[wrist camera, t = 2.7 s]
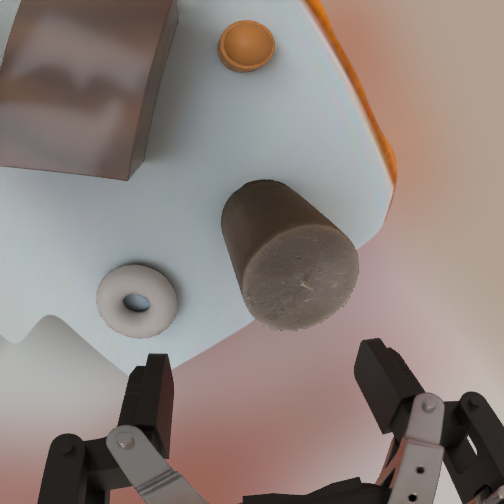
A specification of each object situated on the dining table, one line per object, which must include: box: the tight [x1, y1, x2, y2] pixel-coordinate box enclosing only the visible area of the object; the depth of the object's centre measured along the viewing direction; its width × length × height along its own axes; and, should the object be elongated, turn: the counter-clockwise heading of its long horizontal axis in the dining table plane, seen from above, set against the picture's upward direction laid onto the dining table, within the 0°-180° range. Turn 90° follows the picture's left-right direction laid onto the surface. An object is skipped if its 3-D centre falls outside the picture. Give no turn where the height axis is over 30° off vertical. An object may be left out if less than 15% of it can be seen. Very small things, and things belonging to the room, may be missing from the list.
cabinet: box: [0, 0, 178, 181], centre depth 21 cm, size 16×14×9 cm
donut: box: [96, 265, 177, 338], centre depth 35 cm, size 10×4×10 cm
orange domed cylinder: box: [217, 20, 275, 72], centre depth 25 cm, size 5×5×5 cm
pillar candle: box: [221, 180, 359, 331], centre depth 29 cm, size 10×10×15 cm
